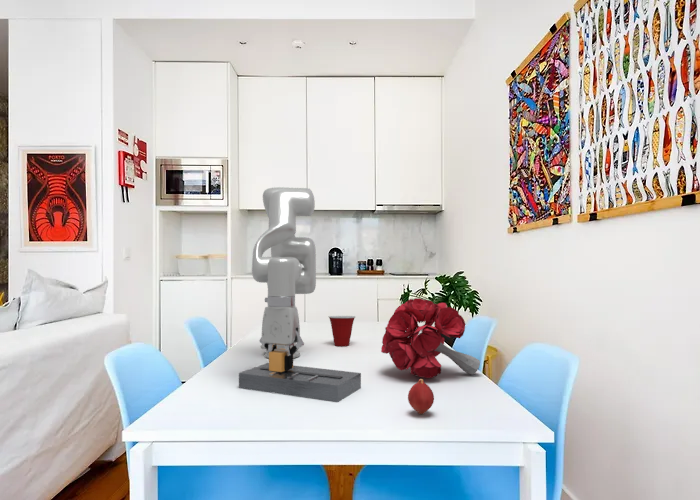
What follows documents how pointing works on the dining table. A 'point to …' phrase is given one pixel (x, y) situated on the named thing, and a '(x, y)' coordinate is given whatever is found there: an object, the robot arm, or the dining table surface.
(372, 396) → the dining table surface
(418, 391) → the onion
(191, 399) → the dining table surface
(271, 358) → the fader knob
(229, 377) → the dining table surface
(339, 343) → the plastic cup
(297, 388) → the block
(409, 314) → the bouquet
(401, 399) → the dining table surface
